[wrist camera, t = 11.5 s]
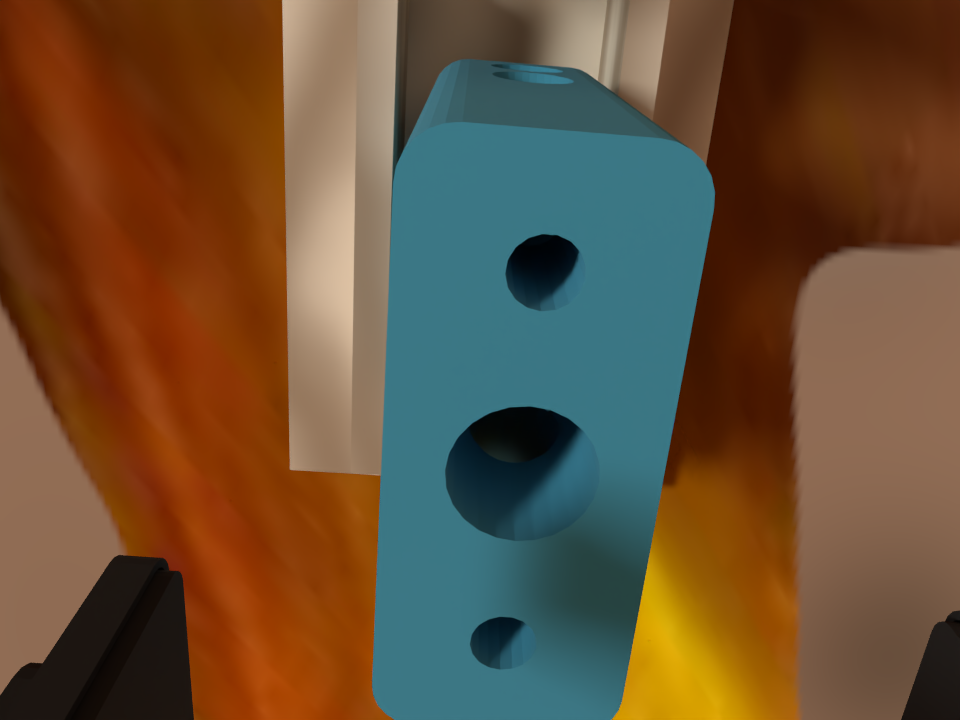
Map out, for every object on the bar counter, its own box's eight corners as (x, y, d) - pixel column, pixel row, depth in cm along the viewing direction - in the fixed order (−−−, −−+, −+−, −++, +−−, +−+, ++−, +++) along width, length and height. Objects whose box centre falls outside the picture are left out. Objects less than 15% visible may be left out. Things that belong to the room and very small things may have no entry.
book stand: (741, -114, 31) (970, -205, 17) (644, 474, 40) (736, 740, 26) (288, -150, 30) (121, -278, 16) (296, 452, 40) (194, 712, 25)
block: (443, 44, 31) (396, 116, 13) (581, 55, 32) (726, 143, 13) (425, 350, 36) (370, 723, 18) (545, 359, 36) (615, 738, 18)
